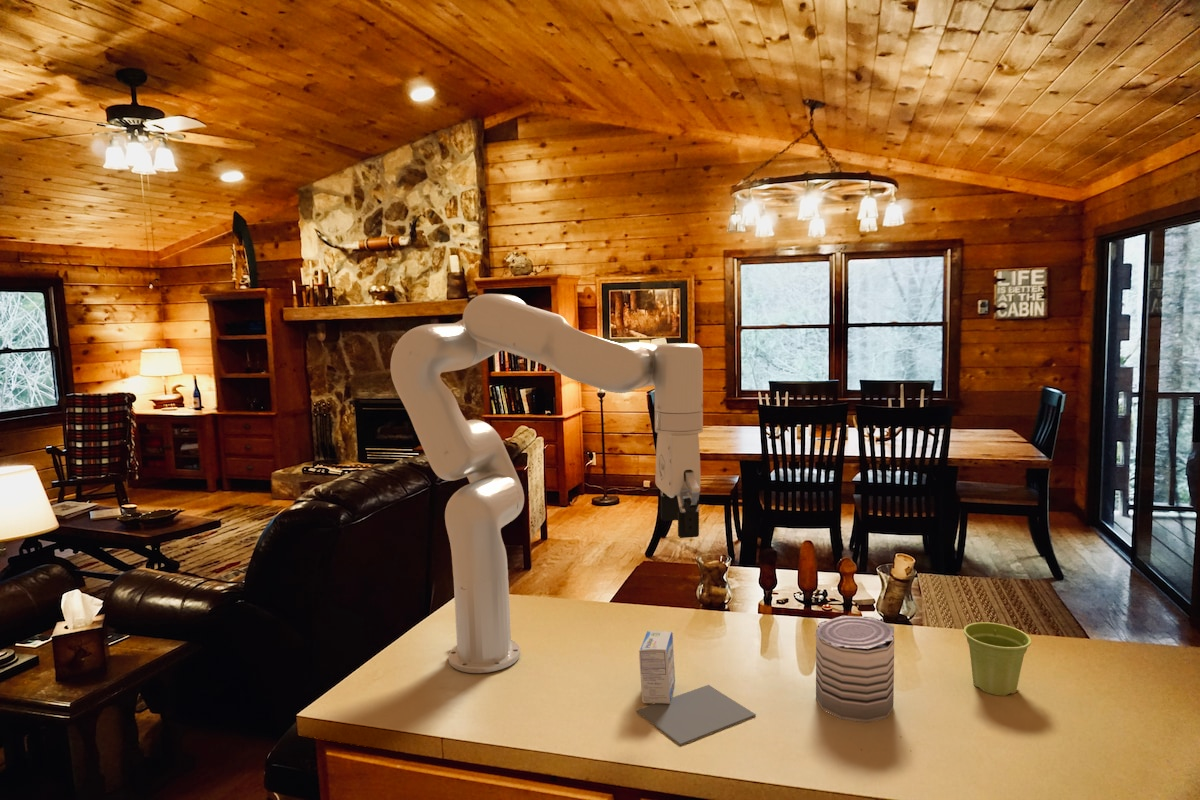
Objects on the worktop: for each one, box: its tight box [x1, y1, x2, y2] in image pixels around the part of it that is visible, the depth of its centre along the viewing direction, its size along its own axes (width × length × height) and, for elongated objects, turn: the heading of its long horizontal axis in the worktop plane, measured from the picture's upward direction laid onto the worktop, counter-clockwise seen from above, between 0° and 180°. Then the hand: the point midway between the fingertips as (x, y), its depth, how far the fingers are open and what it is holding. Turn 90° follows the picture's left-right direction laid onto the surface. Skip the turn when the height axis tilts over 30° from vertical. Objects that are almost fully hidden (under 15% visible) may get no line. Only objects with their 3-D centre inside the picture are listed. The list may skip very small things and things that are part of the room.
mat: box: [636, 684, 757, 747], centre depth 114 cm, size 11×14×1 cm
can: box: [814, 615, 895, 724], centre depth 116 cm, size 11×11×12 cm
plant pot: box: [963, 621, 1032, 697], centre depth 119 cm, size 9×9×9 cm
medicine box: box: [638, 630, 676, 704], centre depth 120 cm, size 8×4×9 cm, turn 168°
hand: (679, 528), depth 121 cm, fingers open, 9 cm apart
